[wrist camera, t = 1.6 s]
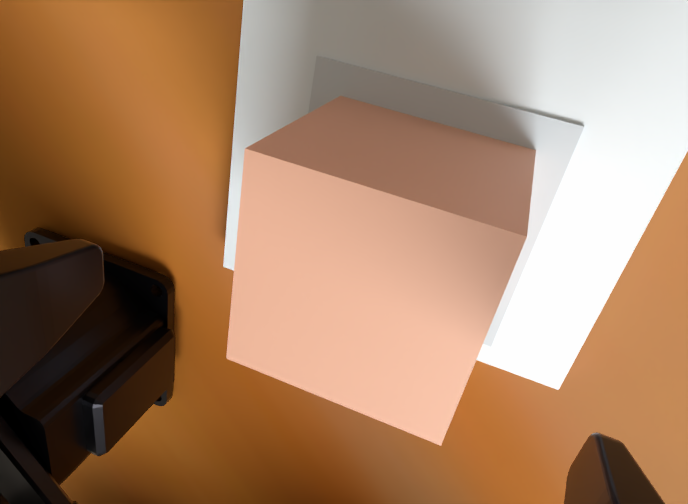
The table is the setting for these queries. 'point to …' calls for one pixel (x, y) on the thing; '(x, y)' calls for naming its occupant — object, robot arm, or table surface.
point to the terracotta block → (375, 258)
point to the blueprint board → (500, 125)
